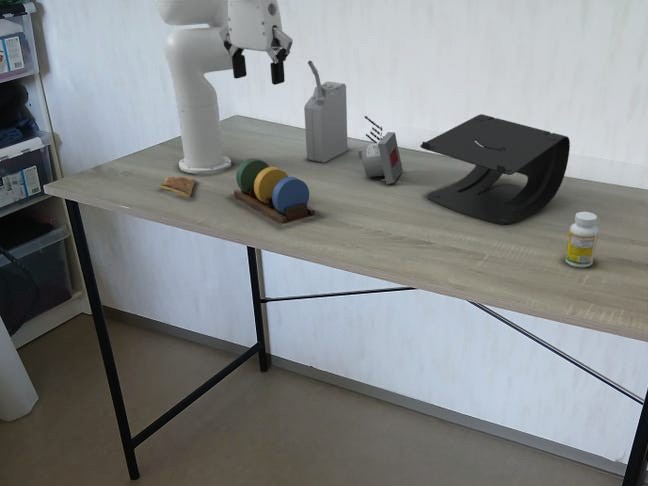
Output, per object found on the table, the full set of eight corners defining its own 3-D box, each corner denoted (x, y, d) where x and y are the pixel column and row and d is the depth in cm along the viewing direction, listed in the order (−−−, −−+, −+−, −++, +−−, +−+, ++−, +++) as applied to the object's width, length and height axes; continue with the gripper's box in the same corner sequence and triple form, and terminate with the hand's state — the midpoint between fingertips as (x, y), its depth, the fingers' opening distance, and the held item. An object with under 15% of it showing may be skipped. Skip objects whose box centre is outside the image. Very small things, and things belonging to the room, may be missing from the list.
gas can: (318, 166, 188) (313, 62, 174) (301, 163, 190) (295, 59, 176) (348, 150, 200) (346, 51, 186) (332, 147, 201) (329, 48, 188)
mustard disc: (255, 206, 162) (252, 170, 158) (286, 199, 167) (284, 163, 163) (260, 209, 161) (257, 172, 157) (291, 201, 166) (289, 166, 161)
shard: (191, 200, 166) (190, 193, 165) (155, 201, 165) (154, 193, 164) (196, 183, 175) (195, 176, 174) (163, 184, 174) (162, 176, 173)
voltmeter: (414, 182, 180) (415, 142, 174) (370, 188, 176) (369, 146, 170) (375, 150, 200) (375, 112, 195) (335, 154, 196) (333, 116, 191)
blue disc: (273, 217, 158) (270, 180, 153) (305, 208, 162) (303, 173, 158) (278, 220, 156) (275, 183, 152) (310, 211, 161) (308, 175, 157)
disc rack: (229, 198, 168) (227, 184, 167) (267, 188, 174) (266, 175, 172) (280, 228, 155) (279, 213, 153) (320, 217, 160) (319, 203, 159)
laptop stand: (566, 201, 172) (576, 134, 164) (504, 229, 157) (511, 157, 149) (480, 174, 186) (485, 111, 178) (415, 197, 172) (417, 130, 163)
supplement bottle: (584, 270, 142) (591, 223, 137) (559, 262, 145) (566, 215, 140) (597, 261, 145) (605, 215, 140) (573, 253, 148) (580, 208, 143)
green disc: (238, 196, 167) (234, 161, 163) (269, 189, 172) (266, 154, 167) (242, 199, 166) (238, 164, 161) (273, 191, 170) (270, 157, 166)
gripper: (299, -14, 138) (305, 82, 147) (228, -21, 145) (238, 71, 155) (274, -11, 133) (281, 89, 142) (201, -17, 140) (213, 78, 149)
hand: (259, 80), depth 148 cm, fingers open, 9 cm apart
